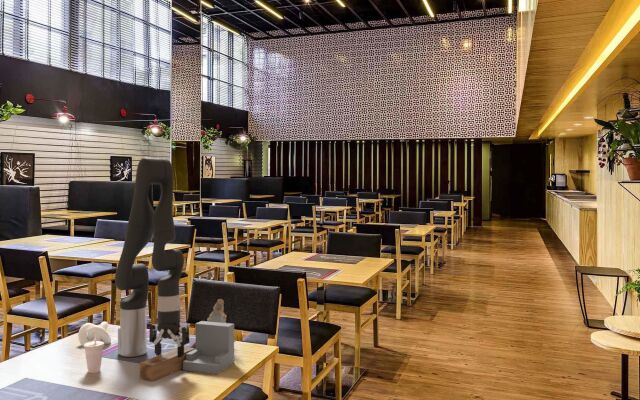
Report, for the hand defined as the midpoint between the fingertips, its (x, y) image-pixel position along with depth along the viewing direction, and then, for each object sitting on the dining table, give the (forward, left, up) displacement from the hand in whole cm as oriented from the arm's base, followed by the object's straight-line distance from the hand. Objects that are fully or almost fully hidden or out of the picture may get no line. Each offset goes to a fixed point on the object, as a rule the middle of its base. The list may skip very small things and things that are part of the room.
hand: (169, 355), depth 171 cm
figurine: (-2, +33, -4) cm, 34 cm away
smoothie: (-24, -9, -5) cm, 26 cm away
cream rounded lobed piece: (-44, +15, -5) cm, 46 cm away
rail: (-1, 0, -6) cm, 6 cm away
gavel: (-3, +26, -7) cm, 27 cm away
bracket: (+10, +9, -5) cm, 15 cm away
